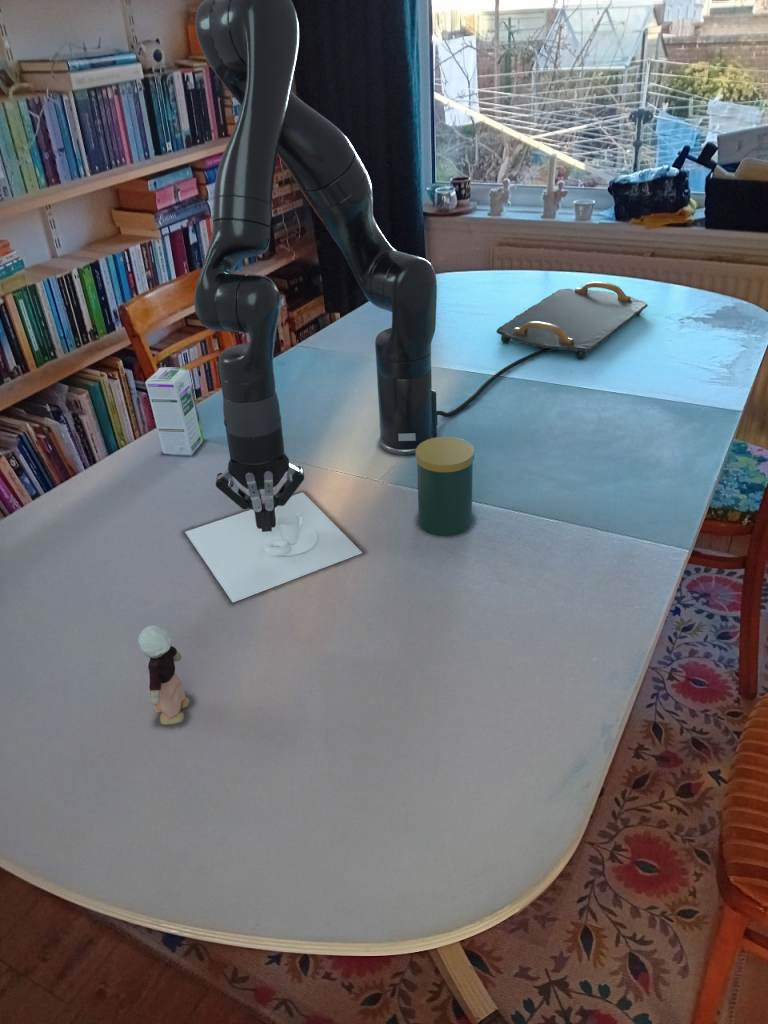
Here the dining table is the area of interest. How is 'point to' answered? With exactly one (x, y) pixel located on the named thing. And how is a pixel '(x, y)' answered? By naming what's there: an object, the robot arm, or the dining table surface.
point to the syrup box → (175, 410)
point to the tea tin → (445, 485)
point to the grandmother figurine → (163, 675)
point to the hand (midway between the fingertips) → (266, 528)
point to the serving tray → (573, 319)
